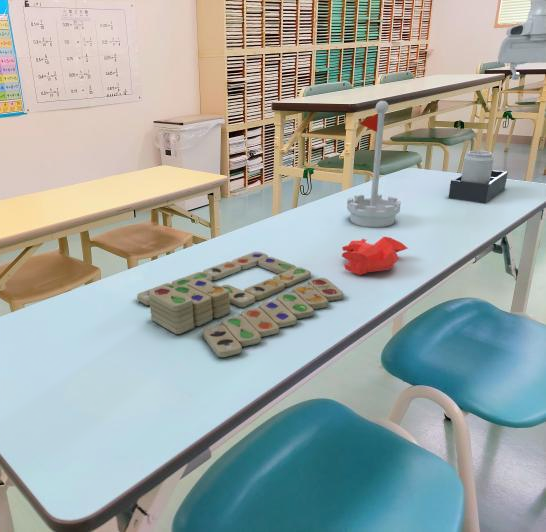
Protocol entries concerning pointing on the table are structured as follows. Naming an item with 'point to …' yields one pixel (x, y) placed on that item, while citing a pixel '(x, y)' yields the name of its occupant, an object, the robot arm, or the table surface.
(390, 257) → the animal figurine
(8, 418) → the table surface
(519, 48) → the robot arm
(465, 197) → the dark grey divided tray
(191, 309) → the pile of dominoes
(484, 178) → the can
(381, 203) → the flag stand
